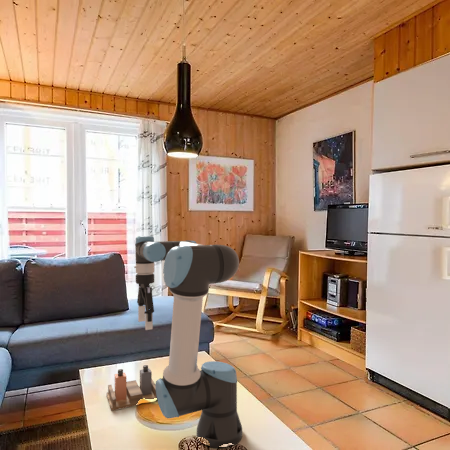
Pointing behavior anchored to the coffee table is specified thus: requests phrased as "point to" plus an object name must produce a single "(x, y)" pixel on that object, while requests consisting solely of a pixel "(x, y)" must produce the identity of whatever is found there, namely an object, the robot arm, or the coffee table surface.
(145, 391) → the charcoal plug
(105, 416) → the coffee table surface
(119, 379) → the terracotta plug
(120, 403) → the wooden ridged block
